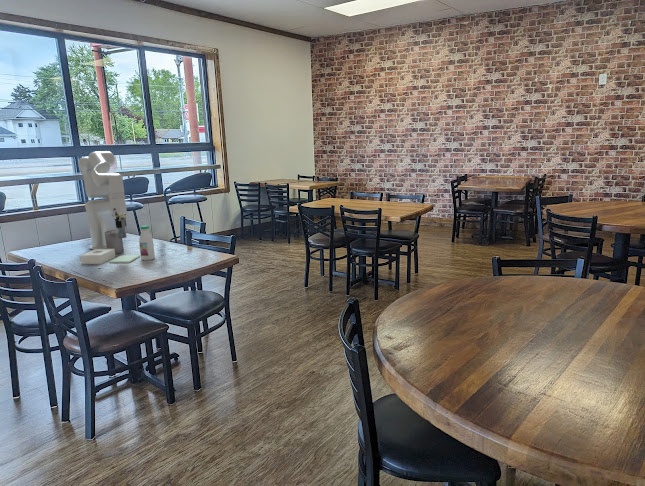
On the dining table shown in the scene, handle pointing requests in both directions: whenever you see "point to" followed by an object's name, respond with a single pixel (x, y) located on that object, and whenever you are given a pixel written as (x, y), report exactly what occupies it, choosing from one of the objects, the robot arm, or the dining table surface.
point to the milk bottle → (146, 244)
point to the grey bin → (114, 241)
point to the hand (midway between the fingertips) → (121, 226)
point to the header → (97, 256)
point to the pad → (125, 259)
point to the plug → (122, 230)
